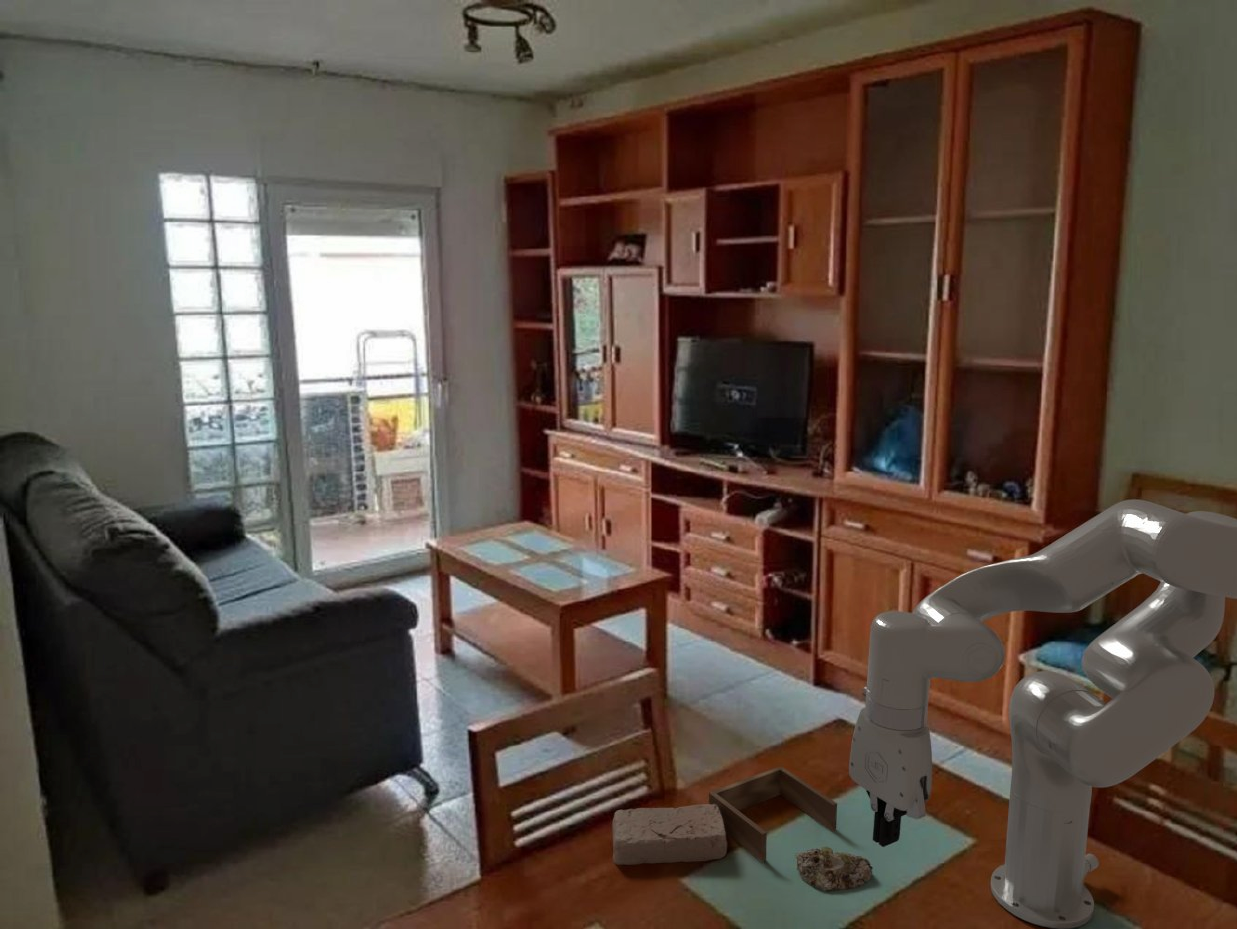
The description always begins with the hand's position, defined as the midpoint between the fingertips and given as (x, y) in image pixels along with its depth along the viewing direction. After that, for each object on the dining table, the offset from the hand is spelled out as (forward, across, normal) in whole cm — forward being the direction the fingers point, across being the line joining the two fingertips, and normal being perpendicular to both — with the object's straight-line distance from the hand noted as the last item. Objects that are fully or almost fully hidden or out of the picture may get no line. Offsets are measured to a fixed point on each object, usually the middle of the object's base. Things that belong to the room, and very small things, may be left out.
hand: (885, 840), depth 117 cm
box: (+11, -23, +1) cm, 25 cm away
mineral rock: (+11, -9, +1) cm, 14 cm away
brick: (+12, -27, -16) cm, 33 cm away
